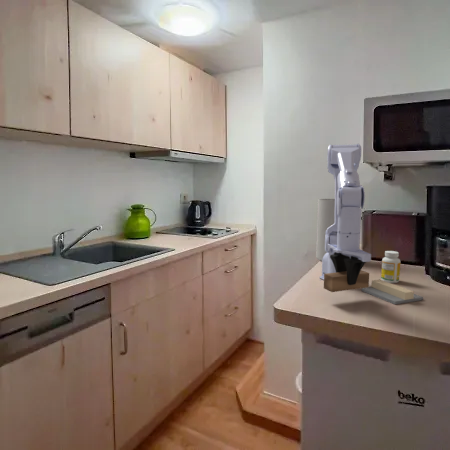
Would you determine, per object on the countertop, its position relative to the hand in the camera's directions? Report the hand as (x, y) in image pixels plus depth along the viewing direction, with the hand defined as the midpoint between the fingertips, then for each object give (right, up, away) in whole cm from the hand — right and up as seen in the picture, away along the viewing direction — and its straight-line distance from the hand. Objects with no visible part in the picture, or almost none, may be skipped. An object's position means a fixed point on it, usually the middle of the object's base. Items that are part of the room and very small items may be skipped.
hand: (346, 282), depth 91 cm
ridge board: (+14, -5, +5) cm, 16 cm away
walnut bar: (0, -2, 0) cm, 2 cm away
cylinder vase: (+12, +1, +49) cm, 51 cm away
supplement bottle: (+21, -3, +19) cm, 28 cm away
